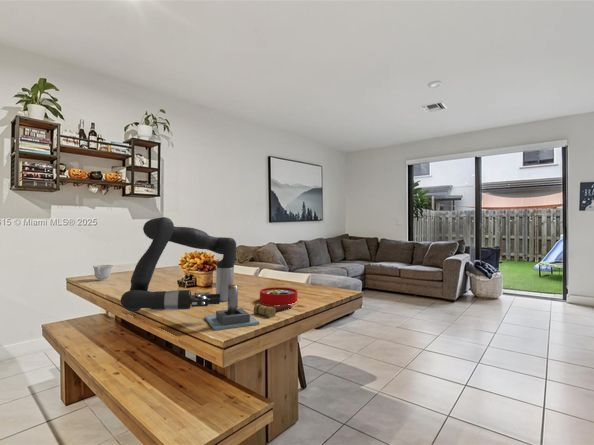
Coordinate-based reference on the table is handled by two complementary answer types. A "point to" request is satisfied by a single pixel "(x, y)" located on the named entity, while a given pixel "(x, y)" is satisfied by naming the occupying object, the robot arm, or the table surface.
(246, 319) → the dock
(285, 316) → the table surface
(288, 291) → the toy clock
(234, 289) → the chrome cylinder
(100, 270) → the teacup
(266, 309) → the gavel
